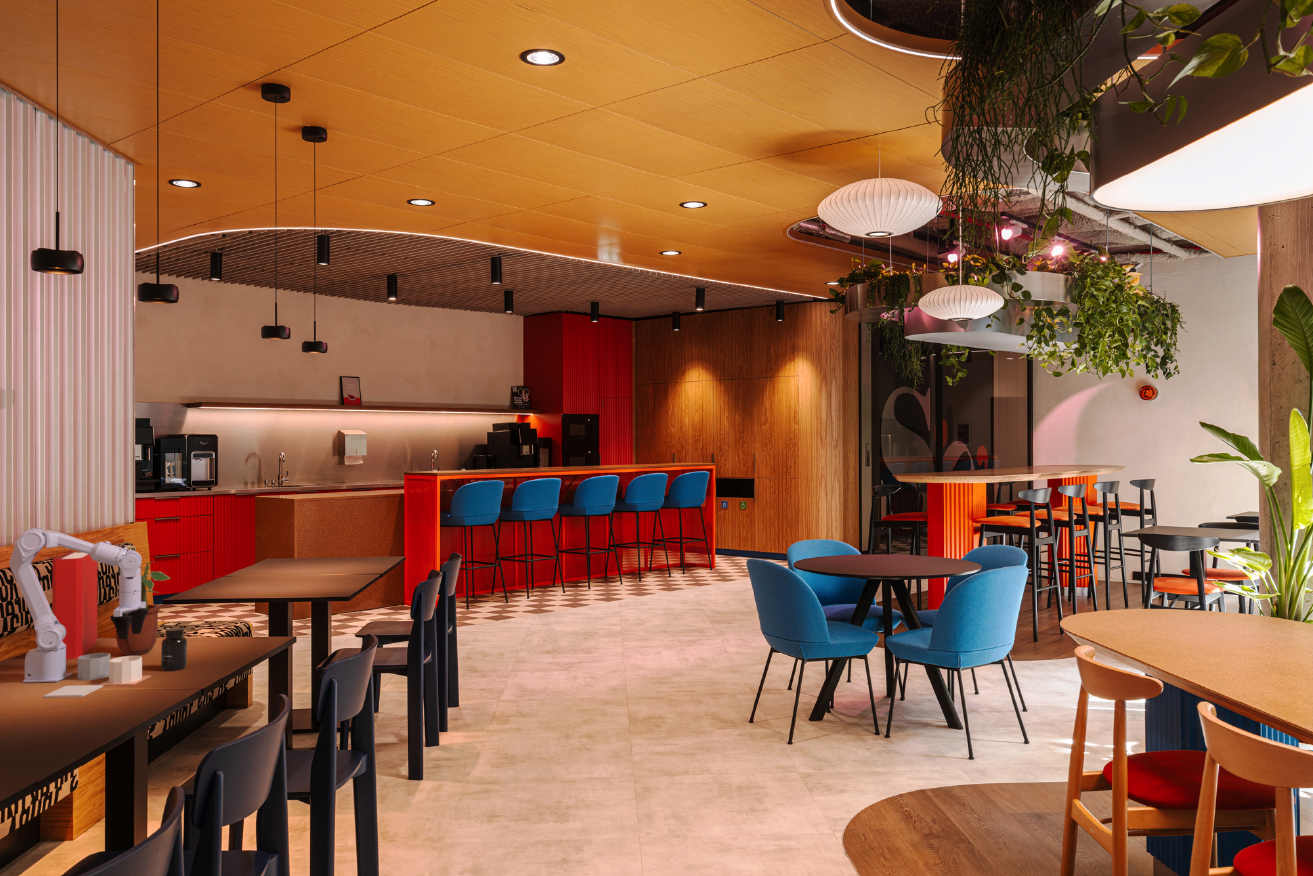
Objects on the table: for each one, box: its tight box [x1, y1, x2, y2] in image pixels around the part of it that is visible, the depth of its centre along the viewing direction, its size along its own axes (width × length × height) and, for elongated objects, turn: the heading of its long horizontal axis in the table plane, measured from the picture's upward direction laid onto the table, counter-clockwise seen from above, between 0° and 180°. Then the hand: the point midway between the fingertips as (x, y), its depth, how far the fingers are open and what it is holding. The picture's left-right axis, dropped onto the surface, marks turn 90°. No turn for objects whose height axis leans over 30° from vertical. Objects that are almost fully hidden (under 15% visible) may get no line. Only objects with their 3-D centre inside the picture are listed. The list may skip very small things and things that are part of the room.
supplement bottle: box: [160, 627, 188, 672], centre depth 267 cm, size 7×7×12 cm
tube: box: [99, 655, 152, 687], centre depth 252 cm, size 10×10×6 cm
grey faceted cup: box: [77, 652, 111, 681], centre depth 258 cm, size 8×8×6 cm
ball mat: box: [43, 684, 104, 699], centre depth 241 cm, size 10×10×1 cm
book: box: [51, 550, 98, 660], centre depth 292 cm, size 27×8×32 cm, turn 23°
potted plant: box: [111, 546, 171, 656], centre depth 290 cm, size 17×16×35 cm
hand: (129, 636), depth 264 cm, fingers open, 7 cm apart
